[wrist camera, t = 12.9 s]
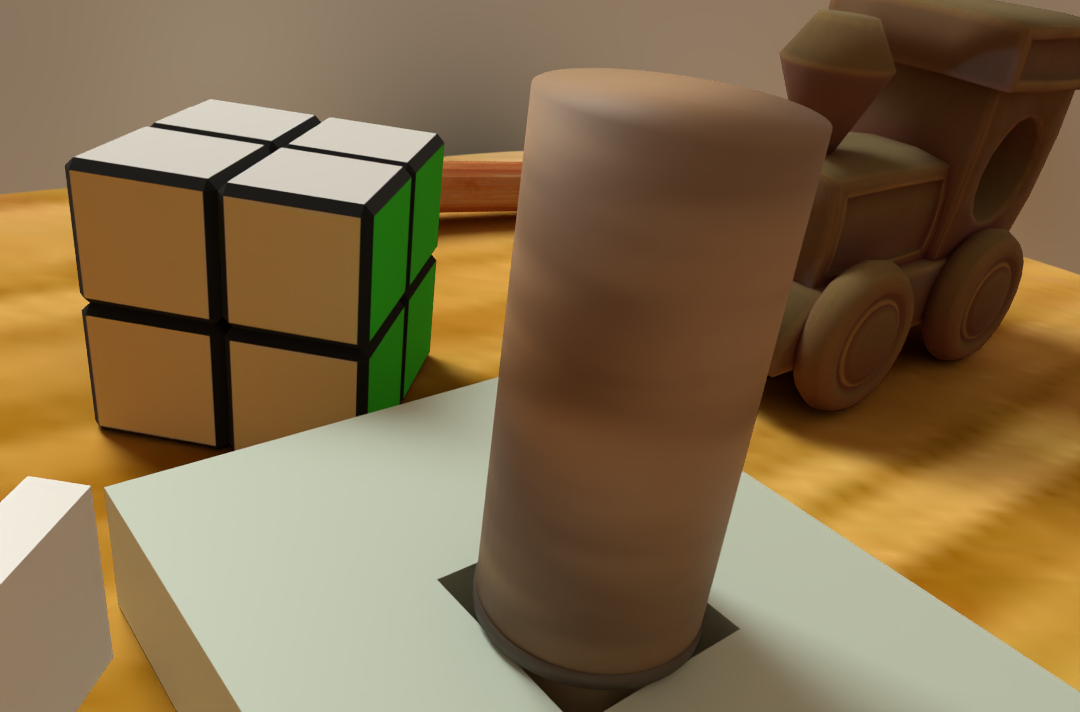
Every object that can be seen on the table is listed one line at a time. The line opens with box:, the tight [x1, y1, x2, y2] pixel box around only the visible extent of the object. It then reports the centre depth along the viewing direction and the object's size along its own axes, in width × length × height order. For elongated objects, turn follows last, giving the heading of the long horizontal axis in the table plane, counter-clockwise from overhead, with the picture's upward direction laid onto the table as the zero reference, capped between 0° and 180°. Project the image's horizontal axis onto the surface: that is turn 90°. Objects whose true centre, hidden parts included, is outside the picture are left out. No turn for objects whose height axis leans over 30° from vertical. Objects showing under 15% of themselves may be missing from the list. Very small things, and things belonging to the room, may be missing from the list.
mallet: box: [440, 161, 523, 213], centre depth 54 cm, size 5×5×30 cm
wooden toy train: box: [768, 0, 1080, 411], centre depth 44 cm, size 20×11×17 cm, turn 129°
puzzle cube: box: [65, 99, 444, 451], centre depth 35 cm, size 10×10×10 cm
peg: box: [472, 68, 833, 712], centre depth 20 cm, size 6×6×16 cm
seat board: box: [104, 377, 1080, 712], centre depth 23 cm, size 20×16×4 cm
